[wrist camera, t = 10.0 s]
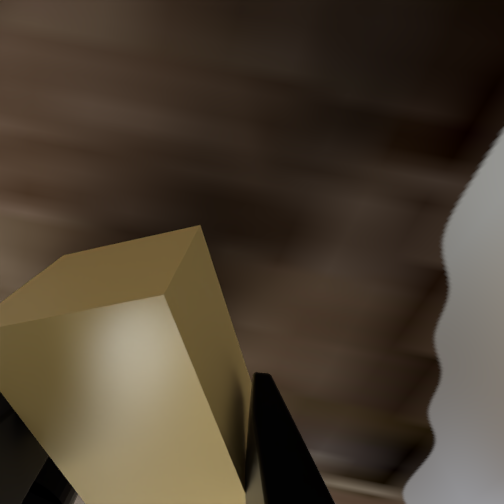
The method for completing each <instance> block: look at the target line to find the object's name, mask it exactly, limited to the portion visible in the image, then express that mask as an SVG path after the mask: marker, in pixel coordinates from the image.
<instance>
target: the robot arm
mask: <svg viewBox="0 0 504 504" xmlns="http://www.w3.org/2000/svg"><path fill="white" fill-rule="evenodd" d="M245 490H246V495H245V499H246V504H335V503H334V501H333V499H332V497H331V495H330V493H329V491H328V489H327V487H326V485H325V483H324V481H323V479H322V477H321V475H320V473H319V471H318V469H317V467H316V465H315V463H314V461H313V459H312V457H311V455H310V453H309V451H308V449H307V447H306V444H305V442H304V440H303V438H302V436H301V434H300V432H299V430H298V428H297V426H296V424H295V422H294V420H293V418H292V416H291V414H290V412H289V410H288V408H287V406H286V404H285V402H284V400H283V398H282V396H281V394H280V392H279V390H278V388H277V386H276V384H275V382H274V380H273V378H272V376H271V375H270V374H268V373H258V372H255V373H254V374H253V379H252V387H251V396H250V406H249V419H248V433H247V447H246V460H245ZM77 495H78V493H77V492H76V491H75V489H74V488H73V487H72V485H71V484H70V483H69V481H68V480H67V479H66V477H65V476H64V475H63V473H62V472H61V471H60V470H59V468H58V467H57V466H56V464H55V463H54V462H53V460H52V459H51V458H50V456H49V455H48V454H47V452H46V451H45V450H44V448H43V447H42V446H41V444H40V443H39V442H38V441H37V439H36V438H35V437H34V435H33V434H32V433H31V431H30V430H29V429H28V427H27V426H26V425H25V423H24V422H23V421H22V419H21V418H20V417H19V416H18V414H17V413H16V412H15V410H14V409H13V408H12V406H11V405H10V404H9V402H8V401H7V400H6V398H5V397H4V396H3V394H2V393H1V392H0V504H74V502H75V500H76V498H77Z"/></svg>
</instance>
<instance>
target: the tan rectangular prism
mask: <svg viewBox="0 0 504 504" xmlns="http://www.w3.org/2000/svg"><path fill="white" fill-rule="evenodd" d="M251 387H252V383H251V380H250V377H249V374H248V371H247V368H246V365H245V362H244V359H243V356H242V352H241V349H240V346H239V343H238V340H237V337H236V334H235V331H234V328H233V325H232V321H231V318H230V315H229V312H228V309H227V306H226V303H225V300H224V297H223V294H222V291H221V287H220V284H219V281H218V278H217V275H216V272H215V269H214V266H213V263H212V260H211V256H210V253H209V250H208V247H207V244H206V241H205V238H204V235H203V232H202V229H201V225H198V226H193V227H189V228H184V229H180V230H175V231H171V232H166V233H162V234H157V235H153V236H148V237H144V238H139V239H135V240H130V241H126V242H121V243H117V244H112V245H108V246H103V247H98V248H94V249H89V250H85V251H80V252H76V253H71V254H67V255H63V256H62V257H61V258H59V259H58V260H57V261H55V262H54V263H53V264H51V265H50V266H49V267H47V268H46V269H45V270H43V271H42V272H41V273H39V274H38V275H37V276H35V277H34V278H33V279H31V280H30V281H29V282H27V283H26V284H25V285H23V286H22V287H21V288H19V289H18V290H17V291H15V292H14V293H13V294H11V295H10V296H9V297H7V298H6V299H5V300H3V301H2V302H1V303H0V392H1V393H2V394H3V396H4V397H5V398H6V400H7V401H8V402H9V404H10V405H11V406H12V408H13V409H14V410H15V412H16V413H17V414H18V416H19V417H20V418H21V419H22V421H23V422H24V423H25V425H26V426H27V427H28V429H29V430H30V431H31V433H32V434H33V435H34V437H35V438H36V439H37V441H38V442H39V443H40V444H41V446H42V447H43V448H44V450H45V451H46V452H47V454H48V455H49V456H50V458H51V459H52V460H53V462H54V463H55V464H56V466H57V467H58V468H59V470H60V471H61V472H62V473H63V475H64V476H65V477H66V479H67V480H68V481H69V483H70V484H71V485H72V487H73V488H74V489H75V491H76V492H77V493H78V495H79V496H80V497H81V498H82V500H83V501H84V502H85V504H246V499H245V495H246V490H245V460H246V447H247V433H248V419H249V406H250V396H251Z"/></svg>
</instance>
